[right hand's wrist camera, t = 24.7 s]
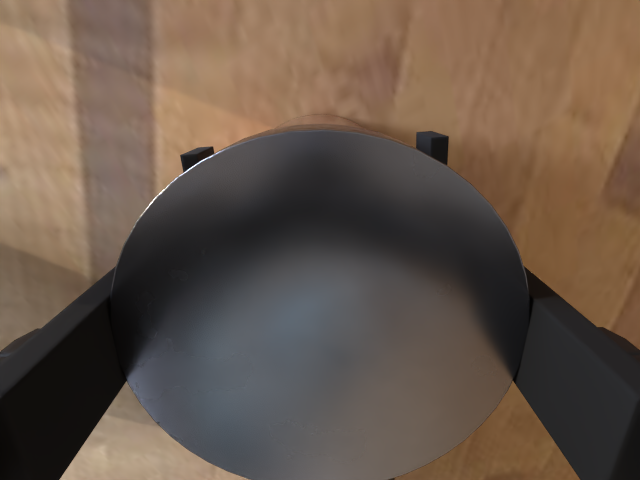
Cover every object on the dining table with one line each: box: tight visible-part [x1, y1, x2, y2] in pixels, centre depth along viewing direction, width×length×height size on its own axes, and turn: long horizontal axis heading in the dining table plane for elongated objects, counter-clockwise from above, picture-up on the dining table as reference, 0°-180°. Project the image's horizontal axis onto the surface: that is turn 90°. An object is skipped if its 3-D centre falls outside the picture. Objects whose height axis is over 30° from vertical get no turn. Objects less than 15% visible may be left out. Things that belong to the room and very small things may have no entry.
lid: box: [110, 124, 530, 480], centre depth 11 cm, size 11×11×2 cm
